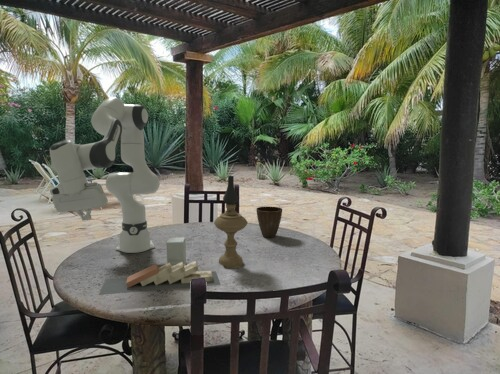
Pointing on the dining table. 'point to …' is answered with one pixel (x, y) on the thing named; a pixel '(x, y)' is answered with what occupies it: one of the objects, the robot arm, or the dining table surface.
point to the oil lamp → (230, 227)
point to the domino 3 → (176, 271)
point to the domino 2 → (161, 272)
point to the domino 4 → (189, 270)
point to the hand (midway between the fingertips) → (87, 219)
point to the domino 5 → (197, 276)
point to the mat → (121, 286)
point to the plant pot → (269, 220)
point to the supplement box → (176, 251)
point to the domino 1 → (142, 275)
